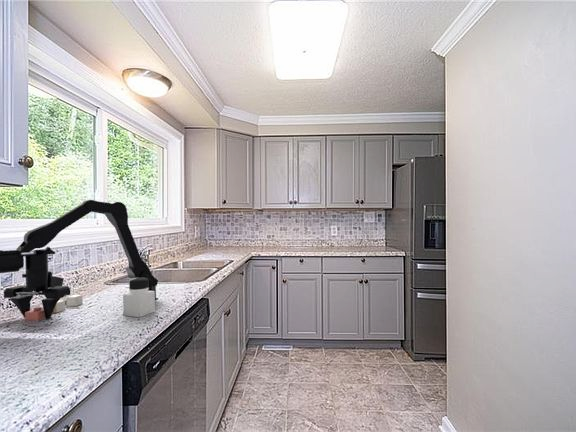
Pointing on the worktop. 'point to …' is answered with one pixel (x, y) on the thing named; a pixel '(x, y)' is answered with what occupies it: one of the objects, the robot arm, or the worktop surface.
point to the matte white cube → (59, 306)
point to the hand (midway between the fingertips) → (37, 319)
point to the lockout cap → (35, 314)
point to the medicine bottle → (138, 298)
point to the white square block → (74, 300)
